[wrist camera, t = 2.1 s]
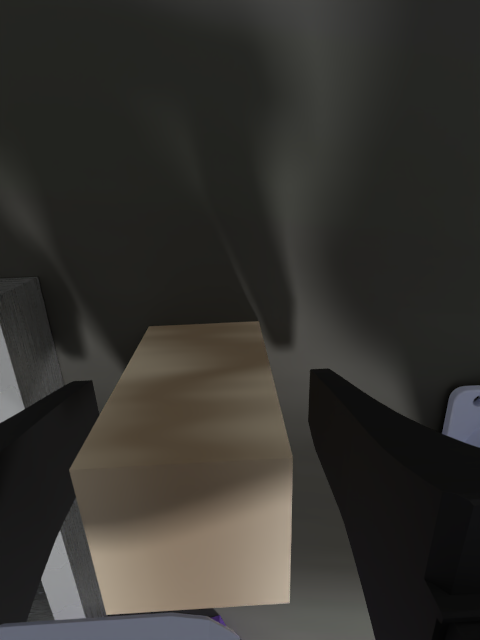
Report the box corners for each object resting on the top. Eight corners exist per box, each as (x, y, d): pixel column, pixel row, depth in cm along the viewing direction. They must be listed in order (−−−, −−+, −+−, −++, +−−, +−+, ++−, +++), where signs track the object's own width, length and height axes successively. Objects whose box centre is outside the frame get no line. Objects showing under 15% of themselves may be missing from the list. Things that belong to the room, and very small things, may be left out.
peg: (258, 321, 13) (292, 457, 6) (260, 413, 14) (289, 603, 8) (149, 326, 13) (68, 469, 6) (161, 418, 14) (106, 614, 8)
